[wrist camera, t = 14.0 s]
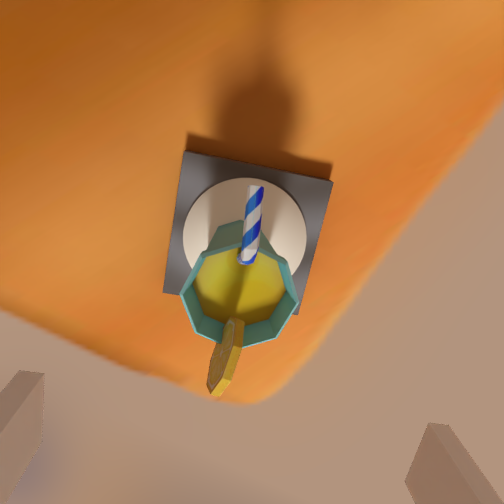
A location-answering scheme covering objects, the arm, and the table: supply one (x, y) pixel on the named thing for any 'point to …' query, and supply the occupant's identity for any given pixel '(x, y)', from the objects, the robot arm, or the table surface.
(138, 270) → the table surface
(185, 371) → the table surface
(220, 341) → the cup
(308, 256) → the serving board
